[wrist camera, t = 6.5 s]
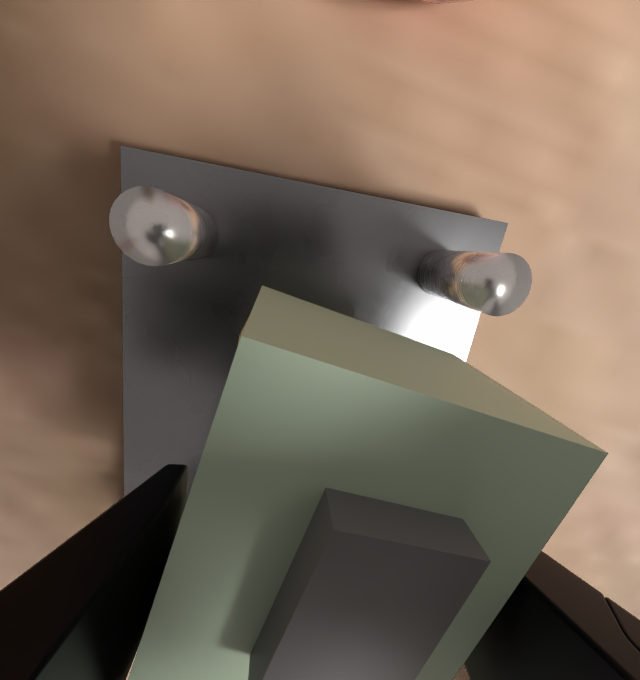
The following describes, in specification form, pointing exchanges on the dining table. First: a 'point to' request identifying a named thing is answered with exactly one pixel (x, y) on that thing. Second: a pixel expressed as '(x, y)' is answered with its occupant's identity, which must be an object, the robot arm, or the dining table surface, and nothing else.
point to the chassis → (275, 282)
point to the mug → (446, 1)
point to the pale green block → (355, 508)
